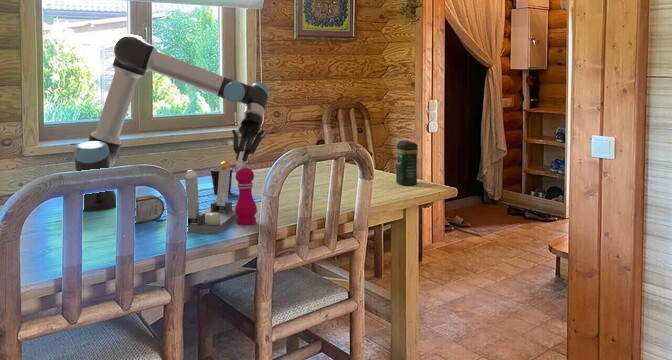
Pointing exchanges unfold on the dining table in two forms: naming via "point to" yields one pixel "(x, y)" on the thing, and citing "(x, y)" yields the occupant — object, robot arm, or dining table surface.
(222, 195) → the toggle lever orange
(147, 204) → the tin
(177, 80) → the robot arm
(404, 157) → the coffee jar
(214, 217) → the push button
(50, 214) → the dining table surface
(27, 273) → the dining table surface
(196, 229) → the switch panel
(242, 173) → the pepper mill
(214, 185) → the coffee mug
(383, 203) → the dining table surface
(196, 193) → the toggle lever ivory
